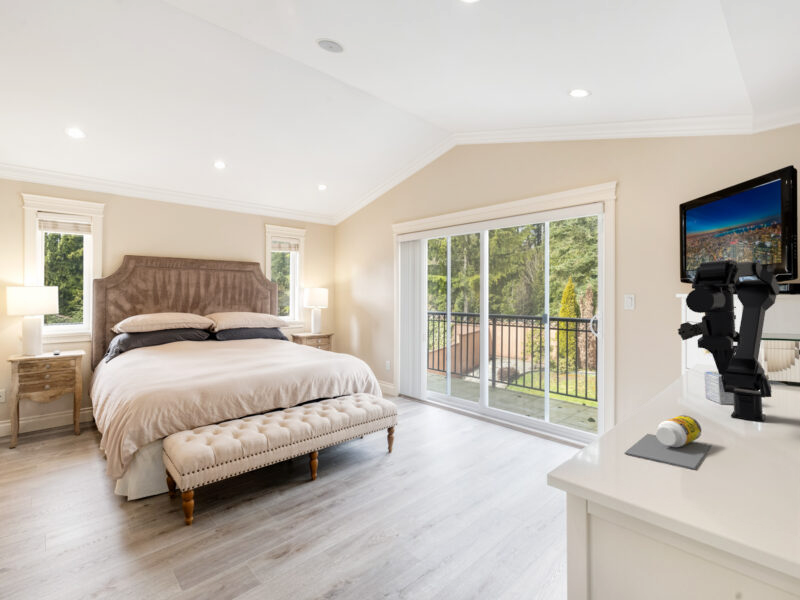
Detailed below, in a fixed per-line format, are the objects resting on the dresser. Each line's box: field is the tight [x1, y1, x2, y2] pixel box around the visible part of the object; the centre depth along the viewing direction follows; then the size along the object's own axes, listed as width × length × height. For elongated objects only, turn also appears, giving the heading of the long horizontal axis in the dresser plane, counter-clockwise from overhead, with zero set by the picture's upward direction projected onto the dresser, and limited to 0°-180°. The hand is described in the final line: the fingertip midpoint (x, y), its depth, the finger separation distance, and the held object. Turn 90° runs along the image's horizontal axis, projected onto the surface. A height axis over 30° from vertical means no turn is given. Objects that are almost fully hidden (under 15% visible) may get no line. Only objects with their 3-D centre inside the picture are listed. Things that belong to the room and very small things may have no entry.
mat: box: [624, 433, 712, 471], centre depth 85 cm, size 16×12×1 cm
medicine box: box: [704, 370, 734, 405], centre depth 123 cm, size 8×4×9 cm, turn 168°
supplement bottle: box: [655, 414, 703, 447], centre depth 87 cm, size 6×6×10 cm
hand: (722, 374), depth 99 cm, fingers closed
